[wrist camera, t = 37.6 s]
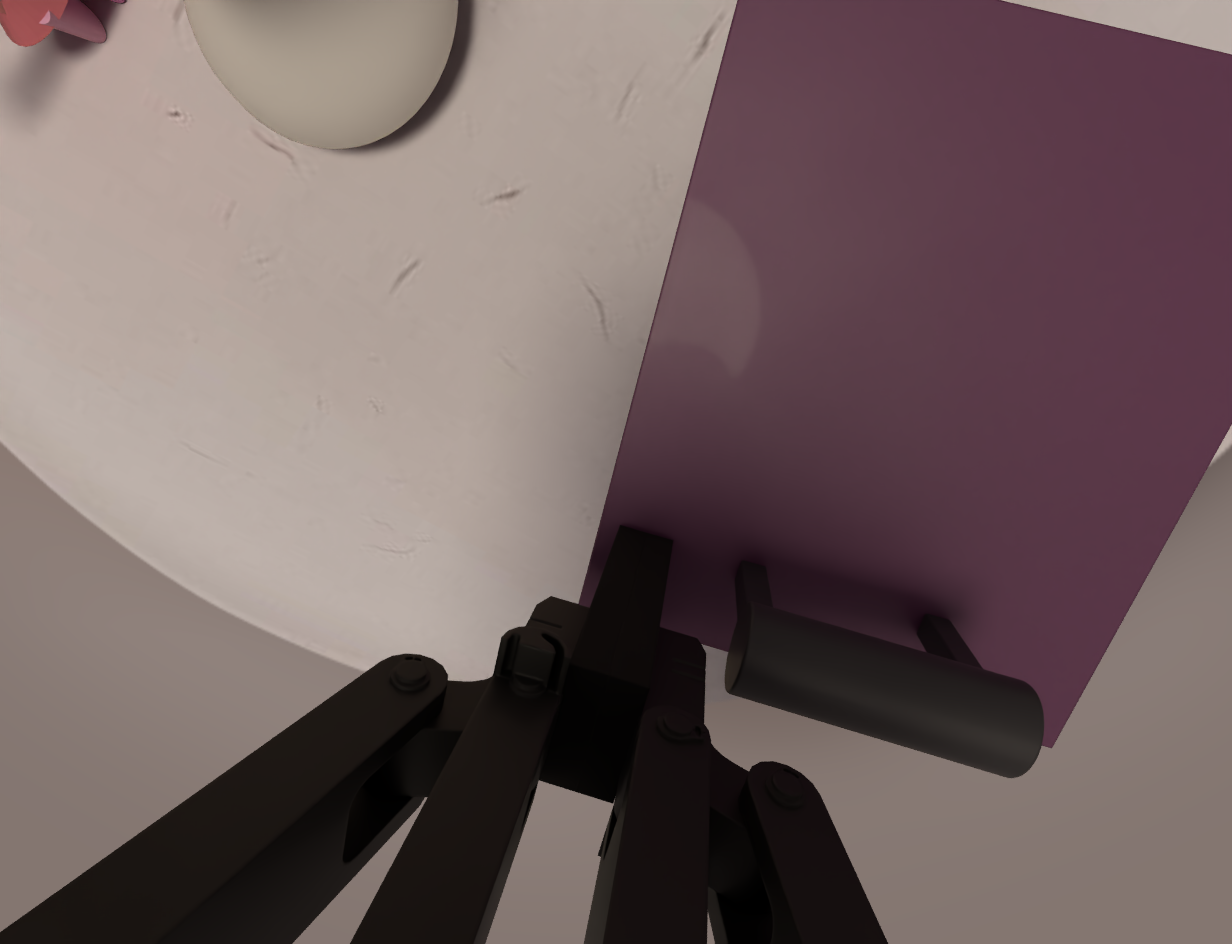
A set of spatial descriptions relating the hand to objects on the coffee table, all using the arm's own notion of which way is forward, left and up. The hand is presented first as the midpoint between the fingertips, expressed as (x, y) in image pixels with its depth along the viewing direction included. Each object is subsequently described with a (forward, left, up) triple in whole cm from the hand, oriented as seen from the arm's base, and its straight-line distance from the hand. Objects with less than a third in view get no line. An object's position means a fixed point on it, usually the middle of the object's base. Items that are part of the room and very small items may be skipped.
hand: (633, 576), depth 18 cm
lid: (+7, +4, -1) cm, 9 cm away
